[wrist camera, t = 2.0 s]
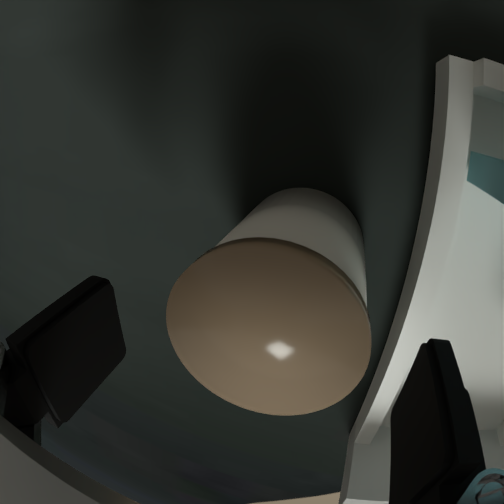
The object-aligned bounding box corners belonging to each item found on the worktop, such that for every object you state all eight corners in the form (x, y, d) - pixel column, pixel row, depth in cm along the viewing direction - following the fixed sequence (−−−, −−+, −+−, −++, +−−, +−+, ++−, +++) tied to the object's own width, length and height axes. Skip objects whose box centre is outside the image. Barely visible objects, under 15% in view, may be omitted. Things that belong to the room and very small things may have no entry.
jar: (375, 195, 13) (396, 268, 7) (353, 311, 15) (343, 428, 9) (243, 178, 14) (157, 232, 8) (240, 291, 17) (176, 389, 10)
